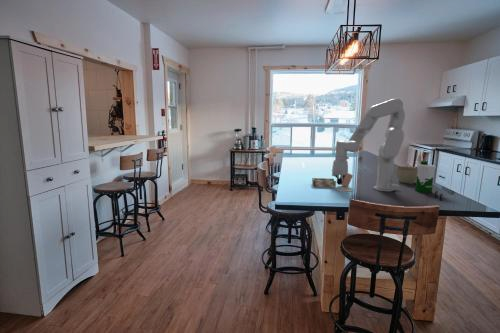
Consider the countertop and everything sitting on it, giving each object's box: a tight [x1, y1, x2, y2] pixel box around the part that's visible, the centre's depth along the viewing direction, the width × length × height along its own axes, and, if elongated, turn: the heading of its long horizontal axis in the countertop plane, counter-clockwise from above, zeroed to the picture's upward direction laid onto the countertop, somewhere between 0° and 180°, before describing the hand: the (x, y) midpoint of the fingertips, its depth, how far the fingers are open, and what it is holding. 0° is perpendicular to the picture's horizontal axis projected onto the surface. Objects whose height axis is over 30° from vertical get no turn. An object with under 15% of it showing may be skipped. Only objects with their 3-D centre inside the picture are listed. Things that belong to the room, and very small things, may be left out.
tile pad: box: [336, 186, 354, 193], centre depth 197 cm, size 9×9×1 cm
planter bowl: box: [395, 165, 418, 184], centre depth 219 cm, size 16×16×11 cm
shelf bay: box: [311, 177, 337, 189], centre depth 206 cm, size 15×8×4 cm, turn 84°
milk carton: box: [414, 160, 437, 194], centre depth 193 cm, size 9×9×20 cm
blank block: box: [340, 172, 354, 187], centre depth 204 cm, size 4×4×9 cm
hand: (339, 184), depth 205 cm, fingers closed
